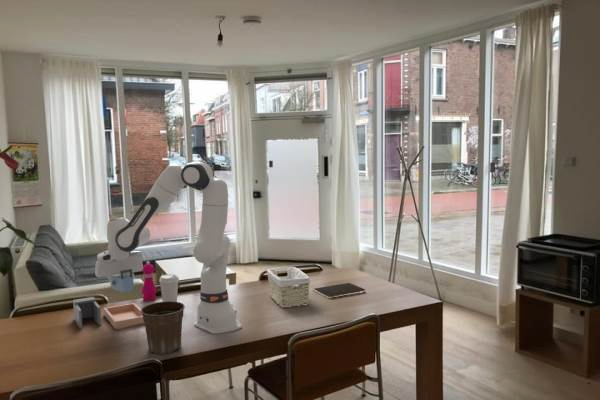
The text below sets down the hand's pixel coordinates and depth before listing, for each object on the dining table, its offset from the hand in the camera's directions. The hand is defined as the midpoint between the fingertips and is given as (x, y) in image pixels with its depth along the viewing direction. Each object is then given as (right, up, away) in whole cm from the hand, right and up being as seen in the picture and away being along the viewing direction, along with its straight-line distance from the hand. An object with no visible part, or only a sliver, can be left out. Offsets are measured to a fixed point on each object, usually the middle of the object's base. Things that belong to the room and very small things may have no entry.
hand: (120, 283), depth 217 cm
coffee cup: (+17, -15, +21) cm, 31 cm away
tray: (+1, -17, +2) cm, 17 cm away
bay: (-14, -17, -1) cm, 22 cm away
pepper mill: (+3, -14, +32) cm, 35 cm away
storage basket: (+75, -14, +28) cm, 81 cm away
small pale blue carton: (+1, -2, -1) cm, 3 cm away
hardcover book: (+102, -13, +43) cm, 111 cm away
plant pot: (+28, -20, -30) cm, 46 cm away
